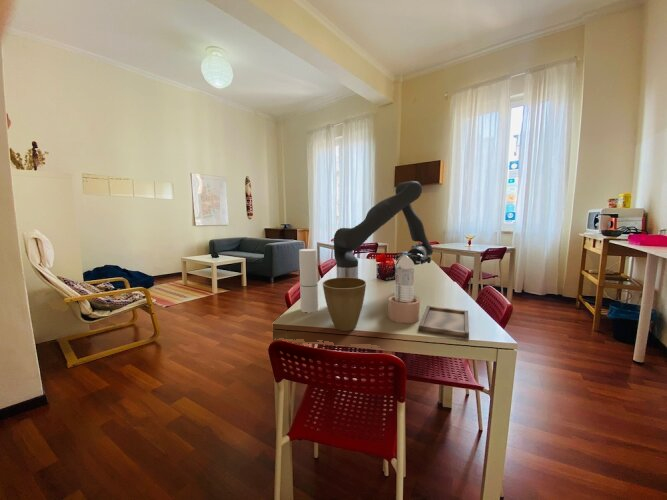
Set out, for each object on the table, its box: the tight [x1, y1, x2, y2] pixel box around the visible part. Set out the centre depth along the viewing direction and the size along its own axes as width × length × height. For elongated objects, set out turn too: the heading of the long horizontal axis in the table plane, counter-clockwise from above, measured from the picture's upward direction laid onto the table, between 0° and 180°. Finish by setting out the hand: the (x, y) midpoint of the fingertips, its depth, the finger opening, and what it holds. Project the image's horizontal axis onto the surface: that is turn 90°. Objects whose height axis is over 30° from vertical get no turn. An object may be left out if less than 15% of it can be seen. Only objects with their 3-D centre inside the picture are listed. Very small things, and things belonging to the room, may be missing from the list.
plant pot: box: [322, 277, 367, 332], centre depth 94 cm, size 15×15×16 cm
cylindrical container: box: [298, 248, 319, 314], centre depth 111 cm, size 7×7×25 cm
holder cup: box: [387, 295, 421, 324], centre depth 103 cm, size 11×11×7 cm
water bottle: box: [394, 251, 415, 303], centre depth 102 cm, size 7×7×25 cm
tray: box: [418, 305, 470, 340], centre depth 98 cm, size 15×22×2 cm
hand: (410, 261), depth 112 cm, fingers open, 8 cm apart
